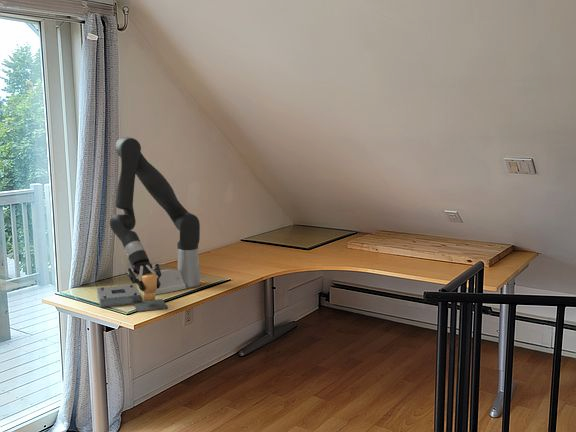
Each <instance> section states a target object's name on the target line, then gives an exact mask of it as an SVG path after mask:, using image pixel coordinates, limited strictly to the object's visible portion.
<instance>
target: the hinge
mask: <svg viewBox="0 0 576 432" xmlns="http://www.w3.org/2000/svg"><path fill="white" fill-rule="evenodd" d="M160 271H161V277H160V278H159V281H160V284H161V285H160V287H159V288H158V289H157V290H156V291H155V296H156V294H157V295H160V294H161V293H162V294H165V293H167V294H168V293H171V292H176V291H179V290H180V291H181V290H182V291H183V290H185V289H187V288H186V285H185V283H184V281H183V278H182V275H181V272H180V271H178V269H161V270H160ZM162 294H161V295H162Z"/></svg>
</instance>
